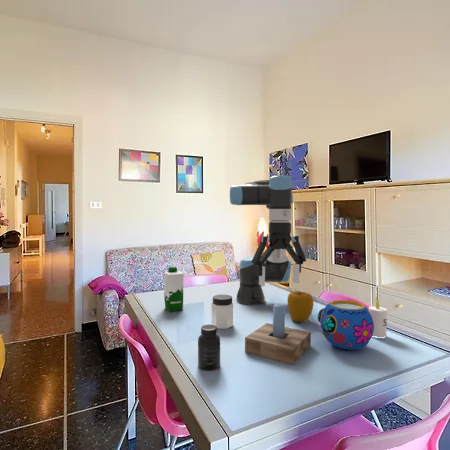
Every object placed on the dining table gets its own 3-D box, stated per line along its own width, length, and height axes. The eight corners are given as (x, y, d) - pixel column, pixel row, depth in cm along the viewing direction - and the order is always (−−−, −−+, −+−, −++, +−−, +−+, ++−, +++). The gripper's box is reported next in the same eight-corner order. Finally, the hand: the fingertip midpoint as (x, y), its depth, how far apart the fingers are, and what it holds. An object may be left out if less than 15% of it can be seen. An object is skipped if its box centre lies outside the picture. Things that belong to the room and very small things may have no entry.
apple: (314, 318, 143) (315, 289, 142) (310, 326, 133) (310, 295, 132) (290, 315, 147) (290, 287, 147) (284, 322, 137) (284, 292, 137)
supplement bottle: (197, 361, 101) (197, 323, 100) (219, 360, 101) (219, 322, 101) (197, 371, 94) (197, 331, 94) (221, 370, 95) (221, 330, 94)
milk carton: (180, 305, 161) (180, 266, 161) (185, 310, 153) (185, 269, 153) (162, 307, 158) (162, 267, 157) (167, 312, 150) (167, 270, 149)
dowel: (275, 345, 113) (276, 303, 112) (286, 348, 111) (286, 305, 110) (270, 349, 109) (271, 306, 109) (281, 352, 107) (282, 308, 107)
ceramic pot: (314, 336, 122) (314, 297, 121) (361, 337, 121) (362, 298, 120) (327, 357, 104) (328, 311, 104) (382, 358, 103) (384, 312, 103)
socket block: (266, 336, 122) (266, 323, 122) (310, 346, 113) (310, 332, 112) (245, 352, 107) (245, 337, 107) (293, 365, 98) (293, 349, 98)
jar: (236, 327, 131) (236, 298, 131) (218, 330, 127) (218, 300, 127) (226, 320, 139) (226, 293, 139) (209, 323, 136) (209, 295, 135)
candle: (379, 340, 118) (380, 300, 118) (364, 334, 124) (365, 296, 123) (390, 337, 121) (391, 298, 121) (375, 331, 127) (376, 294, 126)
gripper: (252, 222, 100) (251, 289, 101) (317, 221, 110) (316, 283, 111) (242, 221, 107) (241, 284, 108) (303, 221, 117) (302, 279, 118)
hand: (279, 283), depth 109 cm, fingers open, 13 cm apart
